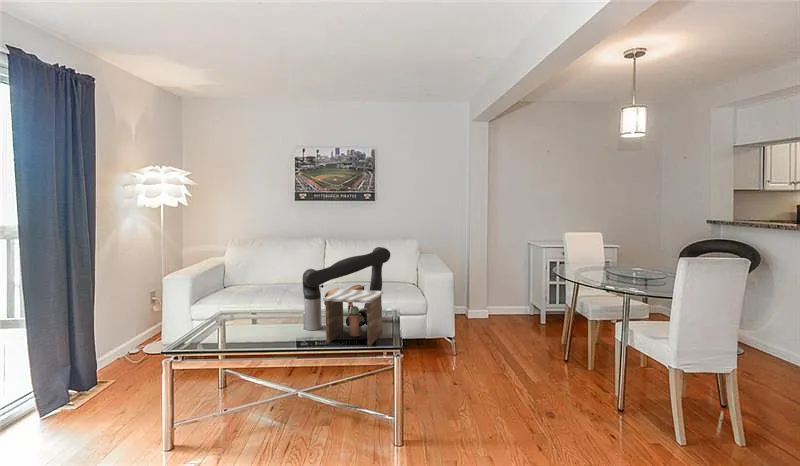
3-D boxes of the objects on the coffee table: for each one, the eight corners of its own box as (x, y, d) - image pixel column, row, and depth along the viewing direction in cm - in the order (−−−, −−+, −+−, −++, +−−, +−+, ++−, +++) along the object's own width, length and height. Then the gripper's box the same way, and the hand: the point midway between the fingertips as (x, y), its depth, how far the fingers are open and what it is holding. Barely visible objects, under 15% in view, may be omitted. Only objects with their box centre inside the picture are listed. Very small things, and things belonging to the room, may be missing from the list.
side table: (324, 343, 243) (323, 298, 241) (340, 330, 264) (339, 289, 262) (371, 346, 237) (370, 300, 235) (383, 333, 258) (383, 291, 256)
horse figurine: (367, 318, 288) (366, 284, 286) (359, 321, 281) (359, 287, 279) (326, 312, 303) (325, 280, 301) (318, 315, 296) (317, 282, 294)
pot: (347, 336, 249) (346, 307, 247) (351, 332, 255) (350, 304, 253) (359, 337, 247) (358, 308, 245) (363, 333, 253) (362, 305, 252)
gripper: (351, 308, 266) (340, 316, 249) (376, 310, 262) (366, 318, 246) (351, 321, 266) (340, 330, 250) (376, 323, 263) (366, 332, 247)
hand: (353, 324), depth 248 cm, fingers closed on pot, 6 cm apart
